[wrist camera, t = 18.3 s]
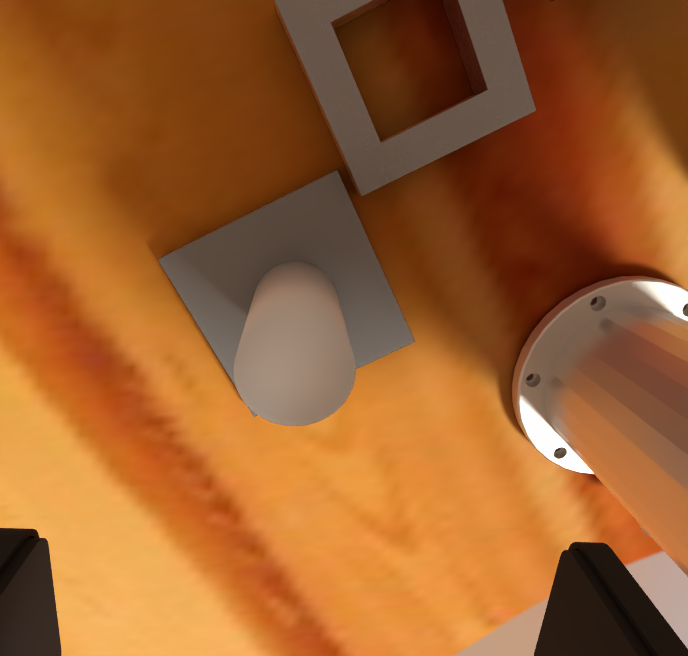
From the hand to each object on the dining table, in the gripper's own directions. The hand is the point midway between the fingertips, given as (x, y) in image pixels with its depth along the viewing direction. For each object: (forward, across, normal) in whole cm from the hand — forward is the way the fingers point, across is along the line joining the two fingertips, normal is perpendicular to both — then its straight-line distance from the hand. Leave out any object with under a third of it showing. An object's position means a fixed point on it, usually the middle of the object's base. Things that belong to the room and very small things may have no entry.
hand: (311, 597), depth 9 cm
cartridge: (+19, +1, 0) cm, 19 cm away
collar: (+20, -4, -12) cm, 23 cm away
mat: (+20, +1, 0) cm, 20 cm away
